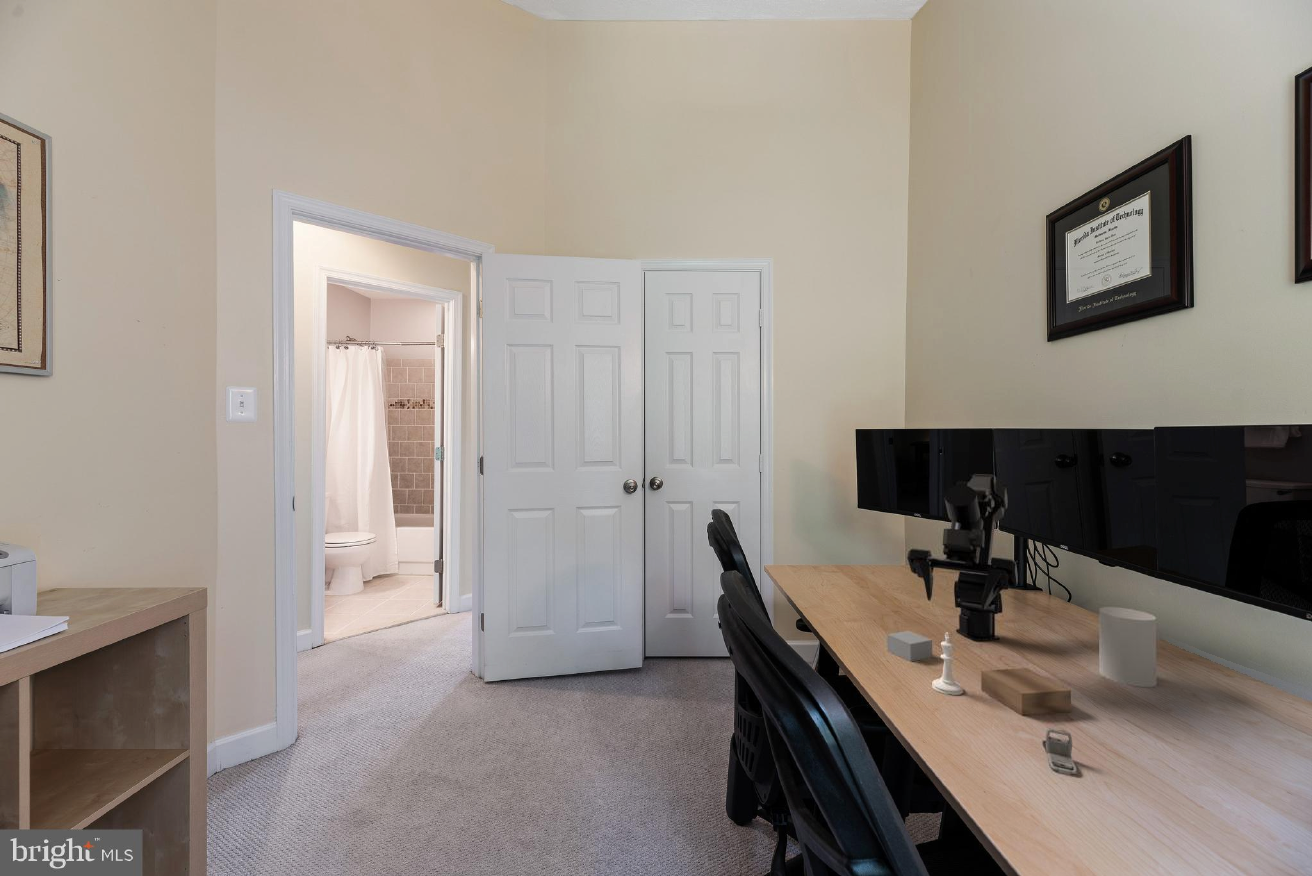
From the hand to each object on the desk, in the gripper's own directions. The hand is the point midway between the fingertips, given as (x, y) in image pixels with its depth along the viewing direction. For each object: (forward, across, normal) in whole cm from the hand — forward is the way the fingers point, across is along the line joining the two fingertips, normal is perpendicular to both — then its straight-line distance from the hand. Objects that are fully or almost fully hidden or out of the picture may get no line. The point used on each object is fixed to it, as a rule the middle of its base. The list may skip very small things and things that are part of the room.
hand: (955, 603), depth 104 cm
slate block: (+6, -9, +13) cm, 17 cm away
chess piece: (+15, 0, +4) cm, 16 cm away
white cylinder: (-4, +26, +23) cm, 35 cm away
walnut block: (+13, +11, +6) cm, 18 cm away
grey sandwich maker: (+26, +17, -6) cm, 31 cm away
